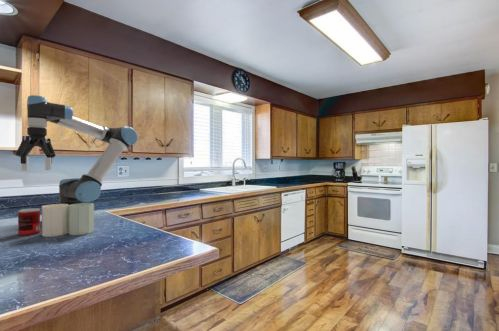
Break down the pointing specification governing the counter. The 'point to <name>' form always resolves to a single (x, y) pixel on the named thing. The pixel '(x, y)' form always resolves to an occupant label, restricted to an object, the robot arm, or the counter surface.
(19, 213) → the canned food
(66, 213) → the crock cream
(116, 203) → the counter surface
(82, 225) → the crock sage
